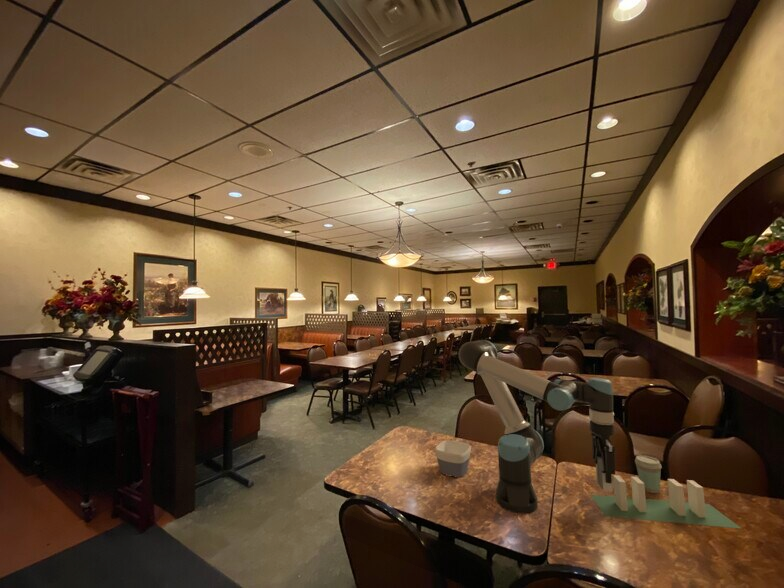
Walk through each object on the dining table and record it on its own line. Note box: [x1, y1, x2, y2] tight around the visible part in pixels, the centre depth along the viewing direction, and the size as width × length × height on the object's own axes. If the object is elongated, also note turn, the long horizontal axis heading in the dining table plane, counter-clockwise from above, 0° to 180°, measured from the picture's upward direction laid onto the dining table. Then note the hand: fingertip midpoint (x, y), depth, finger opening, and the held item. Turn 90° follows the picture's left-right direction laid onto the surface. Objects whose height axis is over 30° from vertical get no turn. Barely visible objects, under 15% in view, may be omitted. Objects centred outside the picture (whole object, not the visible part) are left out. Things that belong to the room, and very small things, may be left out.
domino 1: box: [612, 474, 628, 511], centre depth 118 cm, size 2×5×10 cm, turn 168°
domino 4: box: [686, 479, 706, 518], centre depth 113 cm, size 2×5×10 cm, turn 168°
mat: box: [589, 494, 742, 529], centre depth 115 cm, size 40×14×1 cm, turn 78°
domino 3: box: [667, 478, 686, 516], centre depth 114 cm, size 2×5×10 cm, turn 168°
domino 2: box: [630, 476, 647, 513], centre depth 117 cm, size 2×5×10 cm, turn 168°
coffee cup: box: [634, 455, 663, 494], centre depth 129 cm, size 8×8×12 cm
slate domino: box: [597, 456, 604, 490], centre depth 116 cm, size 2×5×10 cm, turn 168°
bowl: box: [434, 439, 472, 478], centre depth 149 cm, size 15×15×11 cm
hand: (604, 486), depth 116 cm, fingers closed on slate domino, 5 cm apart
